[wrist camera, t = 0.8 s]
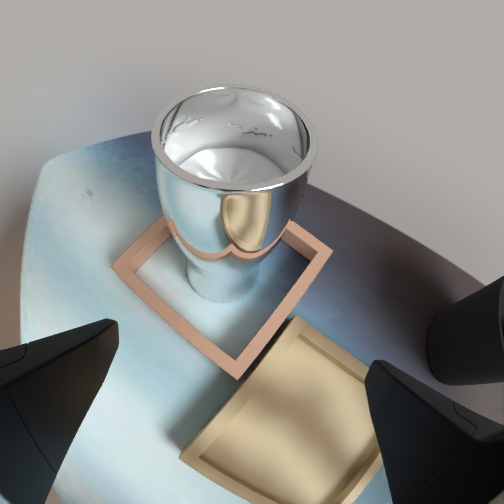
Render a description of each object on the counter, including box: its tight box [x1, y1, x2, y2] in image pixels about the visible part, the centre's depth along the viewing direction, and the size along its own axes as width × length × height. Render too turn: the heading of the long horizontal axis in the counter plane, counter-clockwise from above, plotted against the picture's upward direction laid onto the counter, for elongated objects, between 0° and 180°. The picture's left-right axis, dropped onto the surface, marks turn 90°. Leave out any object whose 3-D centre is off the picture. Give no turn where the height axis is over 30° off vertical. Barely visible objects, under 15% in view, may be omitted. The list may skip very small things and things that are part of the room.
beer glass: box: [151, 84, 318, 303], centre depth 17 cm, size 7×7×15 cm
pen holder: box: [427, 276, 504, 386], centre depth 18 cm, size 9×9×10 cm
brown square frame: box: [110, 214, 333, 380], centre depth 23 cm, size 13×13×2 cm
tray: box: [179, 315, 383, 504], centre depth 17 cm, size 14×14×2 cm
